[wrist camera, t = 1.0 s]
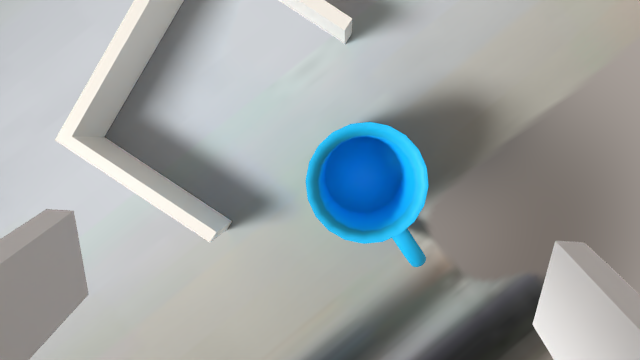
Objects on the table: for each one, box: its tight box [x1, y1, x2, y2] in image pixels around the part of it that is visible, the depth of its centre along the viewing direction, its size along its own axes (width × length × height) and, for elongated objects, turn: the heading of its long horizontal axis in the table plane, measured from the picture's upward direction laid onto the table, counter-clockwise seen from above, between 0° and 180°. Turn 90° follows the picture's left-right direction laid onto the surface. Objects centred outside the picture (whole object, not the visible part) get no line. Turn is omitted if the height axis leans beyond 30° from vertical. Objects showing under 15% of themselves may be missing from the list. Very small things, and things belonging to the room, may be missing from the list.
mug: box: [306, 122, 429, 267], centre depth 33 cm, size 12×8×8 cm
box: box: [55, 0, 352, 242], centre depth 35 cm, size 14×20×4 cm
